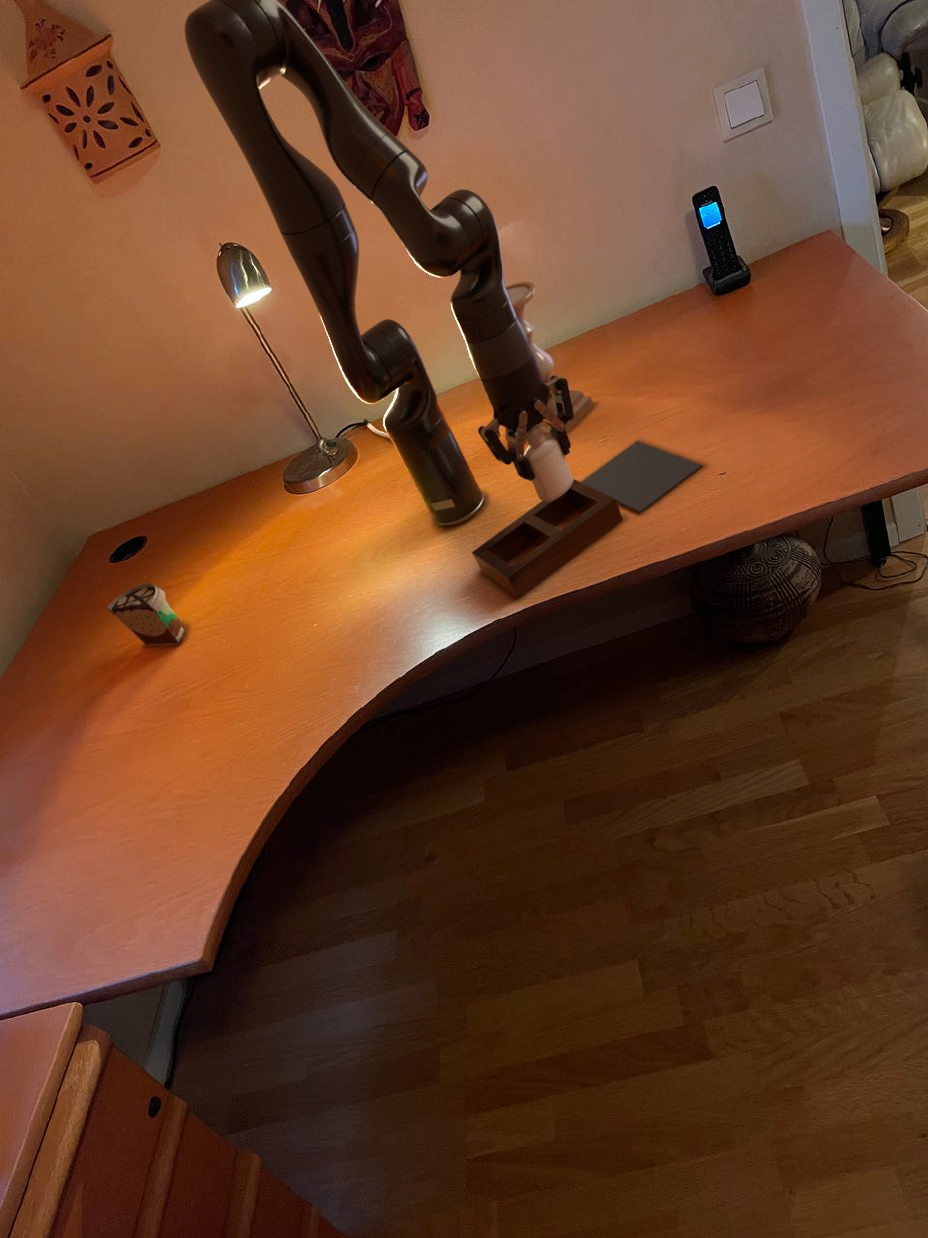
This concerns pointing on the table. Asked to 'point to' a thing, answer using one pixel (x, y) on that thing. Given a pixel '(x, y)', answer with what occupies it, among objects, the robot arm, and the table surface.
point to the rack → (547, 538)
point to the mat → (641, 475)
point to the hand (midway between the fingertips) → (546, 465)
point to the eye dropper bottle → (547, 465)
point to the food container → (148, 615)
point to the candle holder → (544, 356)
